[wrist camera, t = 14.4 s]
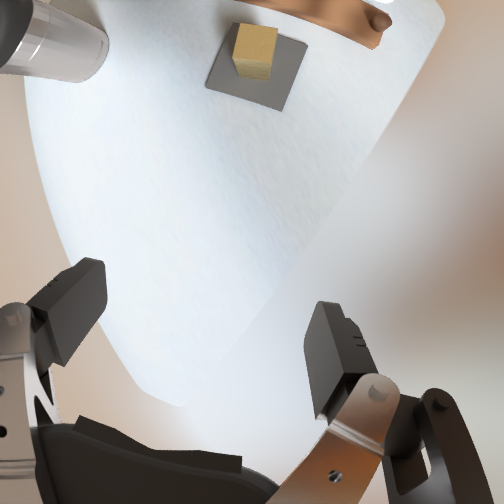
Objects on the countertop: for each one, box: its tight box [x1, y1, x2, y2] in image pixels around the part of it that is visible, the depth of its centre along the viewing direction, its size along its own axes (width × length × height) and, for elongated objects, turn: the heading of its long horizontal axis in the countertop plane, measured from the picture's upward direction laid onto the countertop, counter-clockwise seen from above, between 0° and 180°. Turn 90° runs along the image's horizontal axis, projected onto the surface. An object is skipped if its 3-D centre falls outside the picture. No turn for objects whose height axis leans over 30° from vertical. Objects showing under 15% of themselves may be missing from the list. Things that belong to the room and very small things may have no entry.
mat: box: [205, 23, 308, 112], centre depth 29 cm, size 10×10×1 cm
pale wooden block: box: [232, 23, 278, 82], centre depth 25 cm, size 4×4×9 cm
